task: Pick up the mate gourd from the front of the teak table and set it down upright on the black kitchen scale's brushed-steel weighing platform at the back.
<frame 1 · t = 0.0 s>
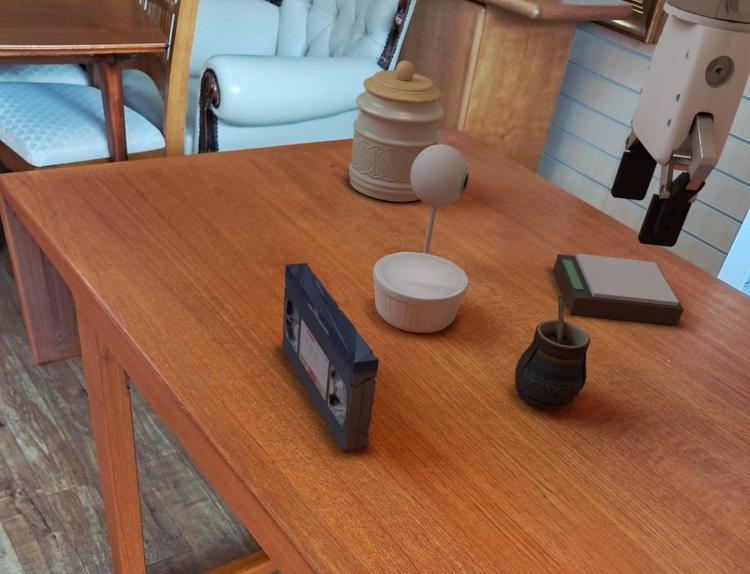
hand: (640, 219, 70), 20 cm above the table, tool pointing down, fingers open, 9 cm apart
scale: (612, 297, 104), on the table
ramekin: (414, 315, 94), on the table
jar: (389, 187, 123), on the table
lollipop: (423, 264, 105), on the table
mate gourd: (540, 399, 85), on the table
vhs cassette tape: (321, 397, 80), on the table
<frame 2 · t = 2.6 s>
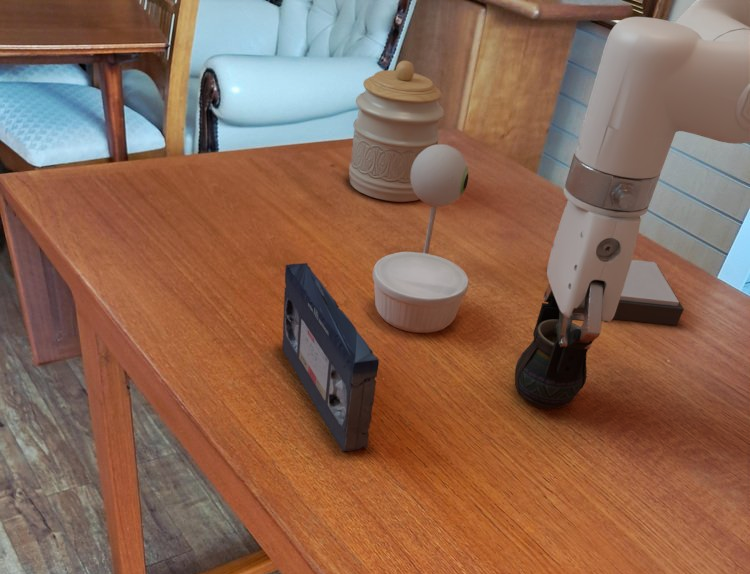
hand: (554, 357, 81), 5 cm above the table, tool pointing down, fingers closed on mate gourd, 6 cm apart
mate gourd: (540, 397, 85), on the table, touching gripper
everything else where it was.
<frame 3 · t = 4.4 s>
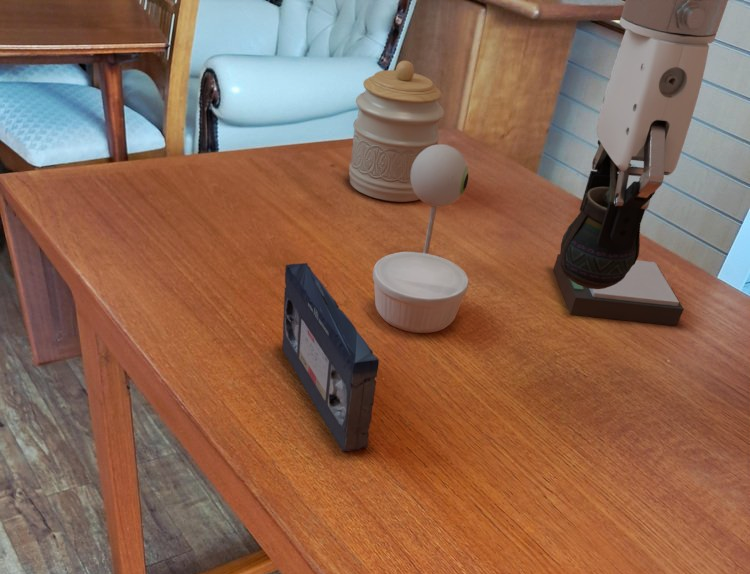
hand: (604, 229, 74), 18 cm above the table, tool pointing down, fingers closed on mate gourd, 6 cm apart
mate gourd: (587, 278, 78), point 13 cm above the table, touching gripper
everything else where it was.
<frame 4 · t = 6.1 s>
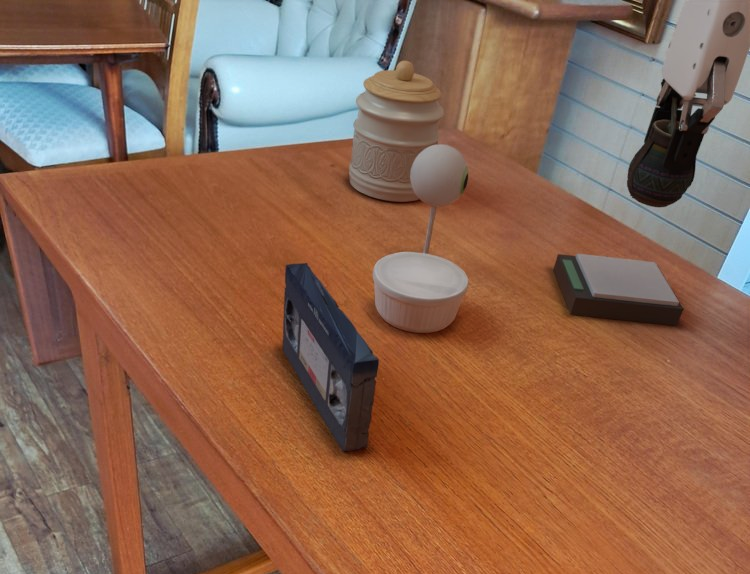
hand: (666, 155, 88), 19 cm above the table, tool pointing down, fingers closed on mate gourd, 6 cm apart
mate gourd: (648, 200, 92), point 14 cm above the table, touching gripper
everything else where it was.
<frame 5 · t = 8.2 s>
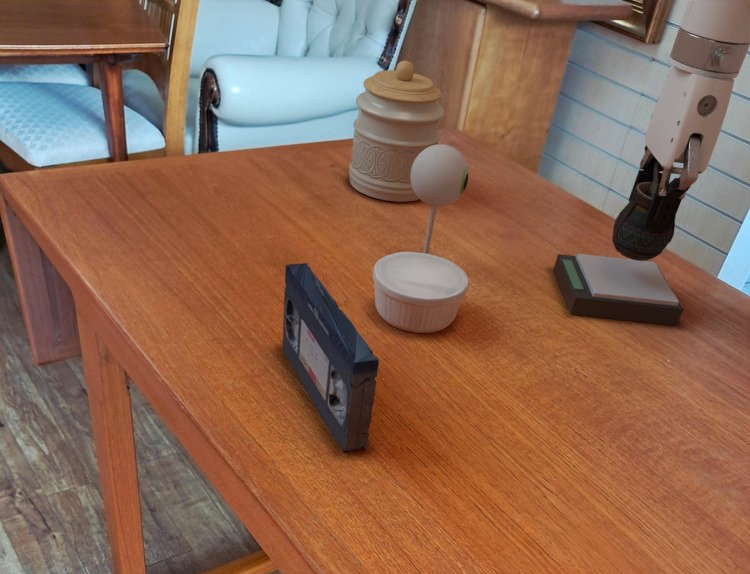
hand: (648, 214, 97), 11 cm above the table, tool pointing down, fingers closed on mate gourd, 6 cm apart
mate gourd: (632, 252, 101), point 6 cm above the table, touching gripper
everything else where it was.
when the fingers open (8 cm above the table, at t = 9.6 s): mate gourd stays where it is, resting on scale.
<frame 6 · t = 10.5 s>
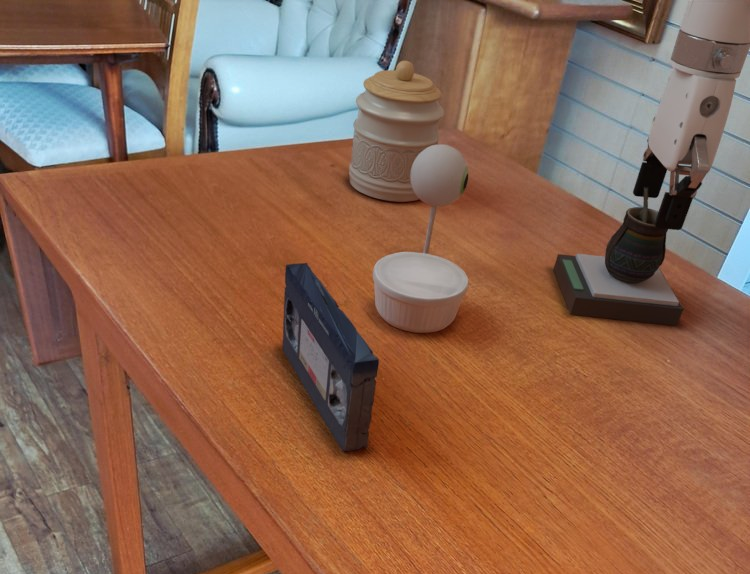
hand: (655, 211, 96), 12 cm above the table, tool pointing down, fingers open, 9 cm apart
mate gourd: (625, 276, 103), point 3 cm above the table, touching scale
everything else where it was.
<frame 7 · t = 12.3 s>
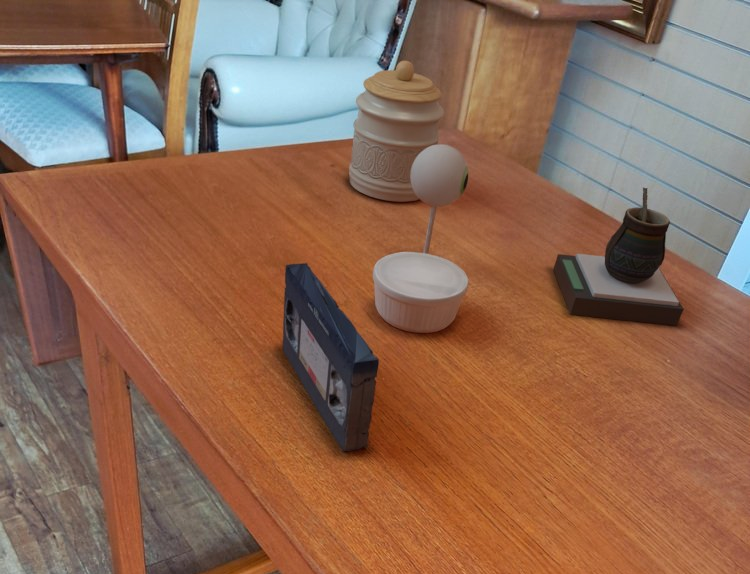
nothing on the table moved.
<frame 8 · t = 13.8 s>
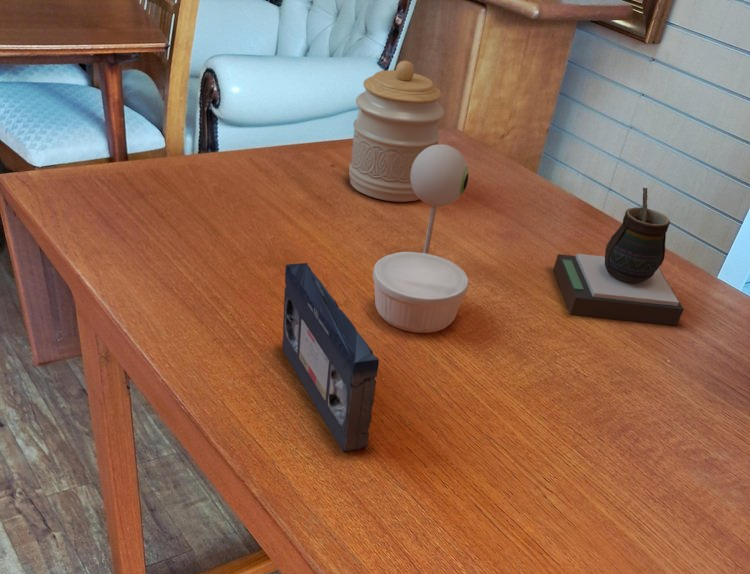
nothing on the table moved.
at the end: mate gourd inside the target area on the scale (0.5 cm from its centre), point 2.8 cm above the scale's base; mate gourd tilted 0°; the gripper is holding nothing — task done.
